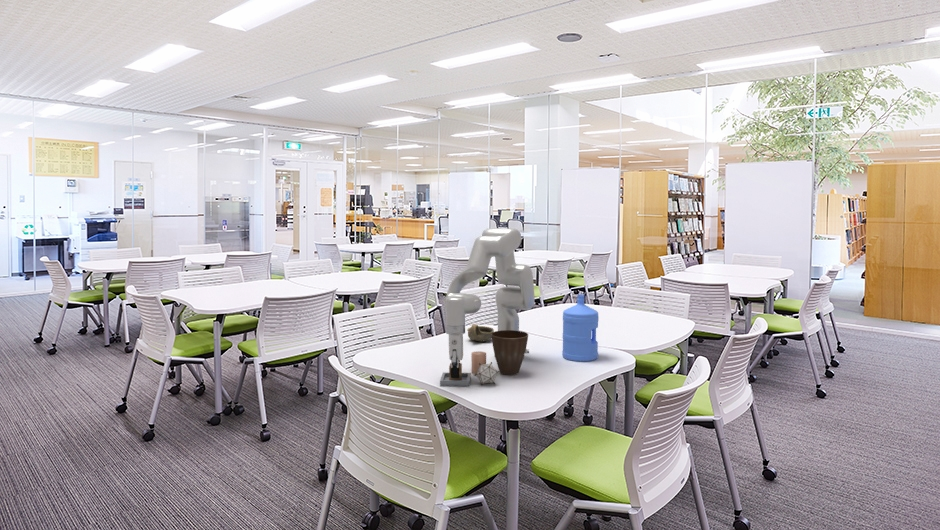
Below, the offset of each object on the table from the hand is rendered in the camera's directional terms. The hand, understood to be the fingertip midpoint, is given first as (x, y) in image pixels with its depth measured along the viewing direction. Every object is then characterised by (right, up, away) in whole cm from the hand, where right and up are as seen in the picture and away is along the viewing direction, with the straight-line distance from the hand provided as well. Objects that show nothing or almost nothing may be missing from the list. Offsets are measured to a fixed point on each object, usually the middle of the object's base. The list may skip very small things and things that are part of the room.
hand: (455, 374), depth 216 cm
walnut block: (0, -2, 0) cm, 2 cm away
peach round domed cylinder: (+9, -2, +13) cm, 16 cm away
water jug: (+55, +1, +36) cm, 65 cm away
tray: (0, -3, 0) cm, 3 cm away
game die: (+12, -3, -2) cm, 13 cm away
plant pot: (+22, -2, +12) cm, 25 cm away
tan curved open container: (+10, +3, +68) cm, 68 cm away
